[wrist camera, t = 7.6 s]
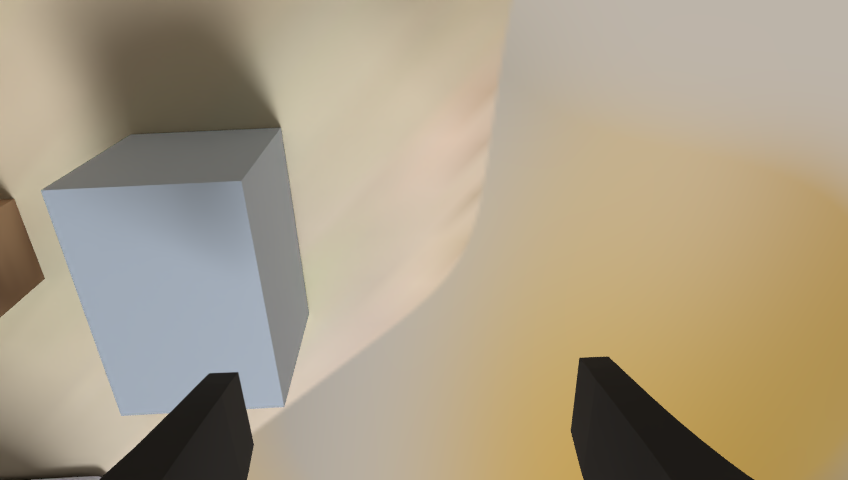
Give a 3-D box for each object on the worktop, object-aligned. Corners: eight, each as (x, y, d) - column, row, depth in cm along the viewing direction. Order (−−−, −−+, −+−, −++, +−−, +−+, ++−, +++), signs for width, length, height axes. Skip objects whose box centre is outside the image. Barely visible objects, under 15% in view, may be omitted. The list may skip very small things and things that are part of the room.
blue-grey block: (308, 313, 22) (283, 406, 17) (180, 320, 22) (121, 415, 17) (280, 127, 19) (241, 180, 14) (130, 134, 19) (40, 190, 14)
